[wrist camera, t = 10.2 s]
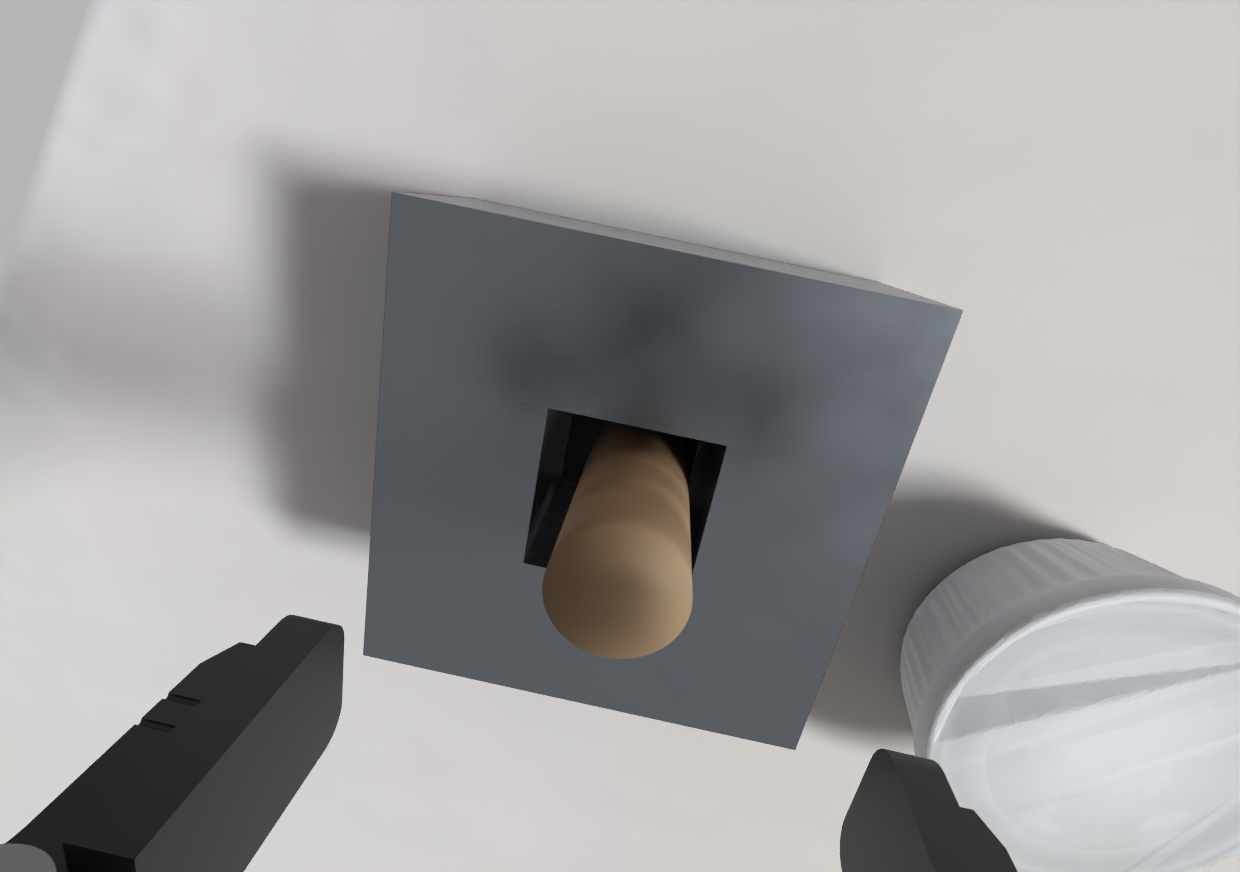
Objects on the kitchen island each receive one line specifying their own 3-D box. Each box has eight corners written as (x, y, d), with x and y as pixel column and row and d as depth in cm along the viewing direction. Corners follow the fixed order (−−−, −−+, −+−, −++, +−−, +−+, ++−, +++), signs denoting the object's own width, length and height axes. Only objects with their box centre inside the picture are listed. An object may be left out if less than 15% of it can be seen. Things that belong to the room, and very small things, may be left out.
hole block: (880, 282, 19) (963, 310, 14) (767, 624, 24) (795, 750, 18) (473, 198, 20) (391, 191, 14) (436, 552, 24) (362, 655, 19)
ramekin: (1040, 445, 21) (1152, 518, 16) (1264, 625, 22) (1430, 743, 17) (810, 657, 24) (844, 770, 20) (1016, 801, 26) (1097, 940, 21)
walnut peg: (695, 400, 21) (708, 546, 12) (676, 480, 22) (674, 671, 13) (608, 383, 21) (553, 514, 12) (593, 463, 22) (532, 641, 13)
